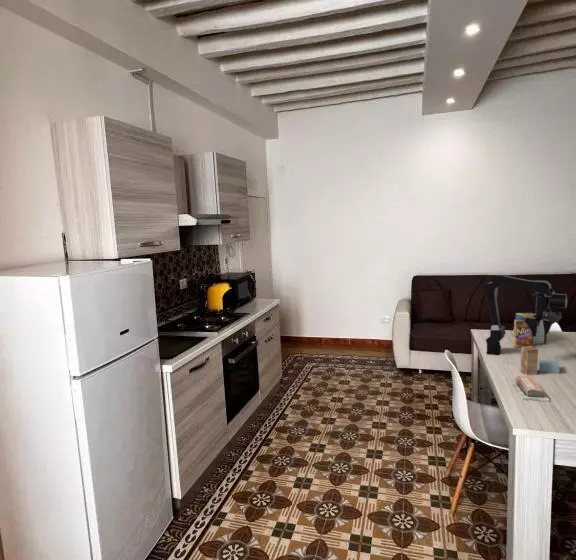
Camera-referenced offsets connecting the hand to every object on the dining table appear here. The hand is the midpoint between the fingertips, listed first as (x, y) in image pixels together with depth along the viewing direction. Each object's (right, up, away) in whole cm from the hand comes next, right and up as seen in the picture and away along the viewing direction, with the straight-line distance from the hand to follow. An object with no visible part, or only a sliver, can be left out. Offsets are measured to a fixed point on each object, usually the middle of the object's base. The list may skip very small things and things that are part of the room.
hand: (540, 335), depth 216 cm
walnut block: (-15, -16, -15) cm, 27 cm away
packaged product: (-27, -20, -36) cm, 50 cm away
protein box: (+16, -8, +37) cm, 41 cm away
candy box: (+6, -10, +27) cm, 29 cm away
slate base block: (-3, -16, -12) cm, 20 cm away
